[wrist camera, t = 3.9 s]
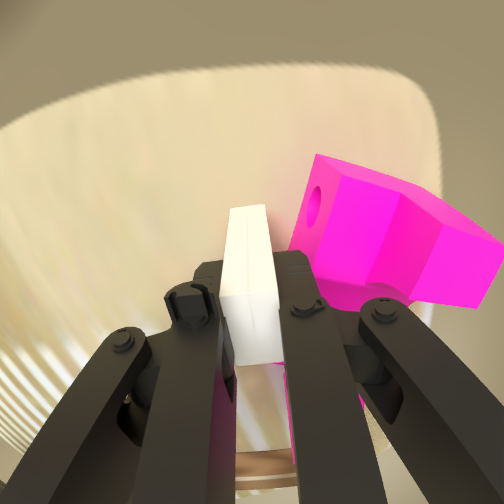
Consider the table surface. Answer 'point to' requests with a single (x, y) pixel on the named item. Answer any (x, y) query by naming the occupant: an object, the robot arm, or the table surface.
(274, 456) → the walnut plank
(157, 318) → the table surface
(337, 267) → the toy block
